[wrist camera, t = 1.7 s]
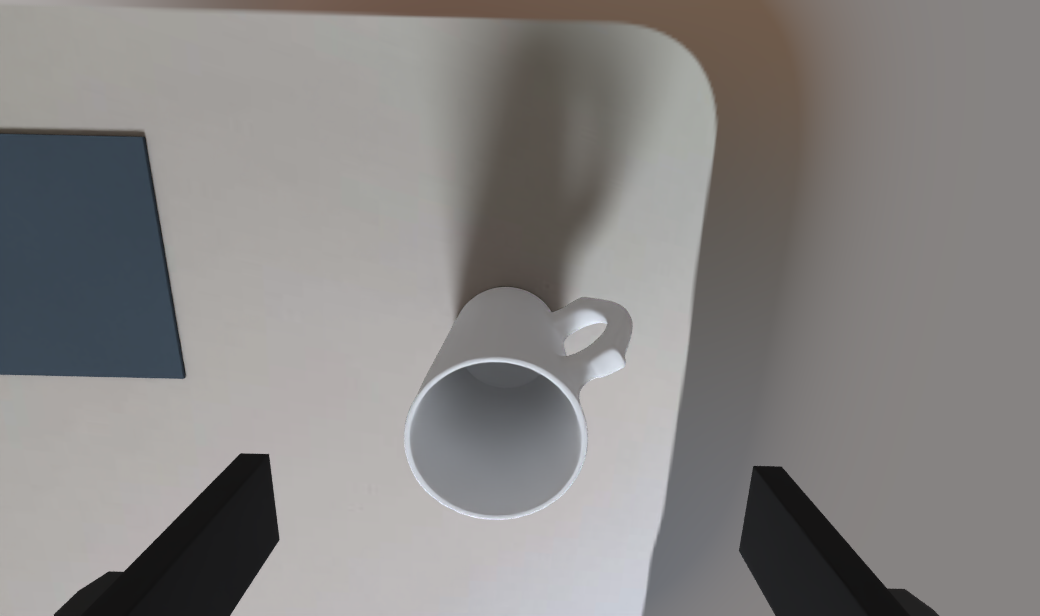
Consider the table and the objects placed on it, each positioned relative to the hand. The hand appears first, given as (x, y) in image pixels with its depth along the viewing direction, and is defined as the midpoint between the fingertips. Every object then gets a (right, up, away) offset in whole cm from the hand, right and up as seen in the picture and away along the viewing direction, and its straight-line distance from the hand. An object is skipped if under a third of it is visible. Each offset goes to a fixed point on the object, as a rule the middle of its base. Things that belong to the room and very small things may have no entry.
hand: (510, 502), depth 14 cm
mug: (+1, +5, +16) cm, 17 cm away
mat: (-27, +8, +15) cm, 32 cm away
